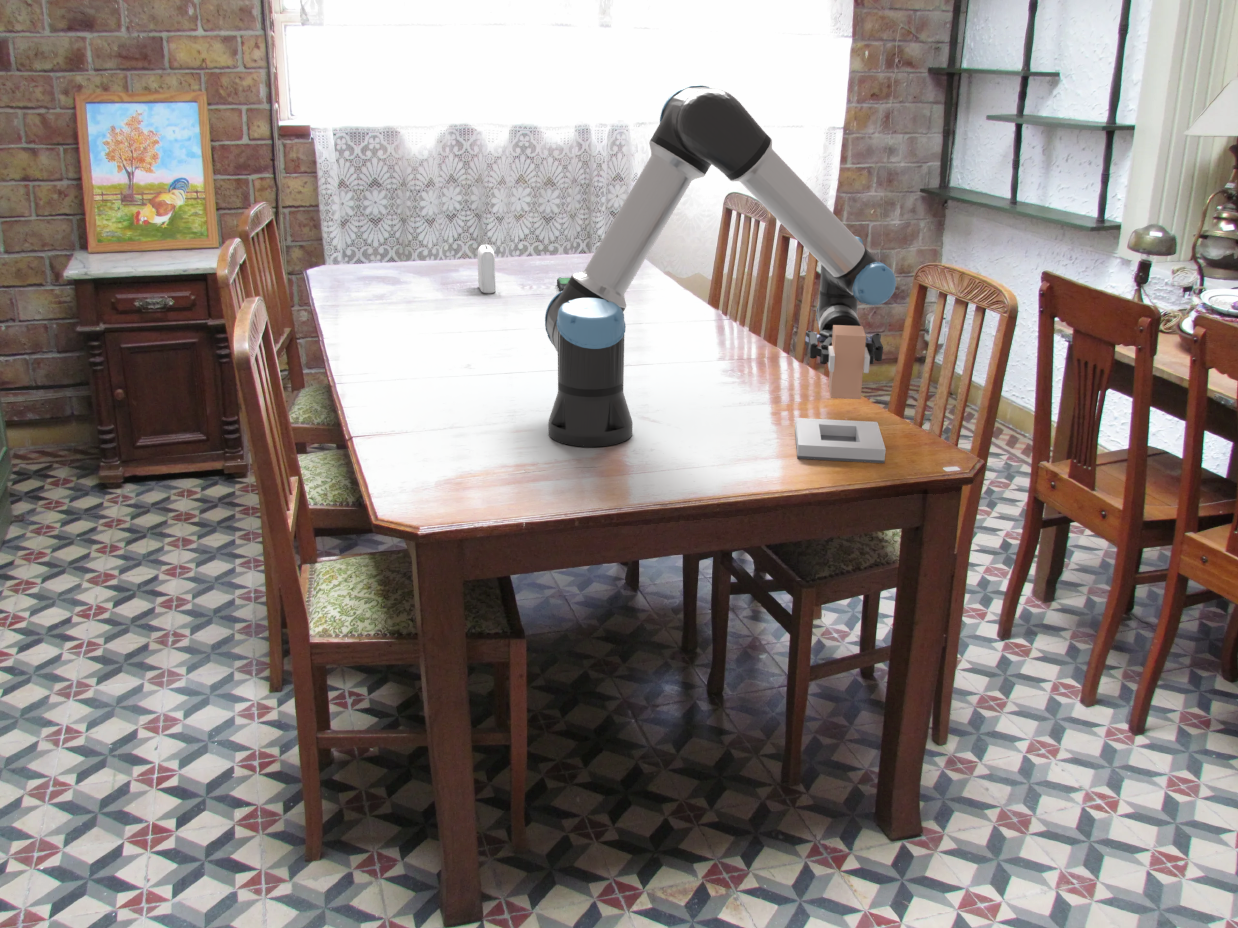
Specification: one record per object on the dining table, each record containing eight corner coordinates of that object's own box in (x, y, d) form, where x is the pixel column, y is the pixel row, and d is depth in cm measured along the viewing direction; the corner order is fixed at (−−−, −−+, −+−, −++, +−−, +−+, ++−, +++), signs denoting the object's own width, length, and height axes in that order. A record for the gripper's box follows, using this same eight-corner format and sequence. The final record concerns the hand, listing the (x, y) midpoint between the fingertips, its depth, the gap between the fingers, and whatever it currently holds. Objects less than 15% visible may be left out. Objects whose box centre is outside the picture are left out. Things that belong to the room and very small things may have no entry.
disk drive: (598, 297, 312) (592, 285, 326) (599, 287, 311) (592, 276, 325) (561, 298, 311) (556, 286, 324) (561, 288, 310) (556, 276, 323)
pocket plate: (797, 458, 195) (798, 444, 194) (794, 430, 208) (795, 417, 207) (884, 463, 193) (885, 449, 192) (876, 435, 207) (877, 421, 206)
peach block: (830, 397, 194) (835, 335, 190) (828, 386, 201) (833, 325, 197) (860, 399, 194) (866, 336, 190) (857, 387, 200) (862, 326, 196)
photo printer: (477, 286, 321) (475, 242, 316) (492, 285, 322) (491, 241, 317) (481, 294, 311) (479, 248, 307) (496, 293, 312) (495, 248, 308)
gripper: (887, 351, 212) (902, 388, 190) (790, 348, 214) (793, 383, 192) (891, 312, 209) (907, 344, 188) (792, 308, 211) (796, 340, 189)
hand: (849, 364), depth 190 cm, fingers closed on peach block, 5 cm apart
